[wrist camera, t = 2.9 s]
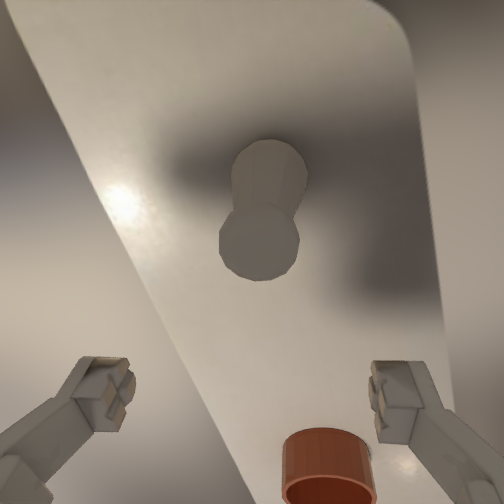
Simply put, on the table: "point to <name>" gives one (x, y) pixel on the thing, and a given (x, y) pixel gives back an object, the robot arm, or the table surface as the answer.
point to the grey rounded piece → (263, 211)
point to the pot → (326, 468)
